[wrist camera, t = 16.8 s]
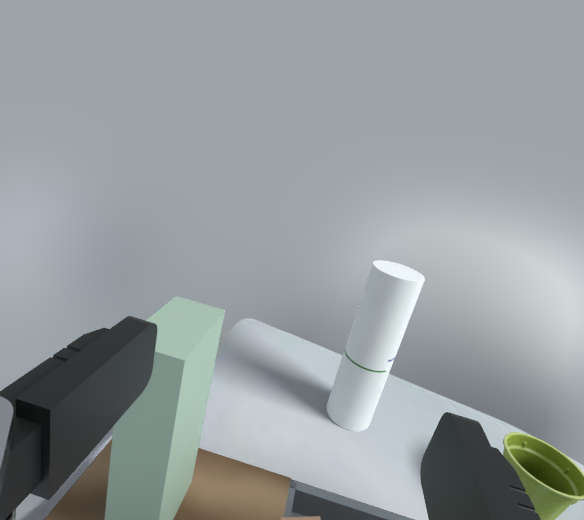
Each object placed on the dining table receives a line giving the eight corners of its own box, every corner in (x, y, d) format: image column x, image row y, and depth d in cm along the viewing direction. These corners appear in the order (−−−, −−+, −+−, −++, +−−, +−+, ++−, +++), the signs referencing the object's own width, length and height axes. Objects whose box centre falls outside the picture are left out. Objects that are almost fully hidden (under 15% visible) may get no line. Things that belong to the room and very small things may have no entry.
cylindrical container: (378, 420, 57) (433, 278, 49) (351, 438, 52) (408, 284, 44) (344, 392, 62) (390, 259, 54) (317, 406, 57) (363, 262, 49)
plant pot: (476, 466, 53) (500, 420, 50) (547, 502, 50) (577, 455, 47) (480, 520, 44) (509, 469, 42) (566, 567, 41) (604, 515, 38)
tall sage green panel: (151, 467, 33) (176, 296, 28) (191, 481, 33) (225, 310, 27) (102, 545, 27) (121, 340, 21) (151, 563, 26) (184, 360, 21)
